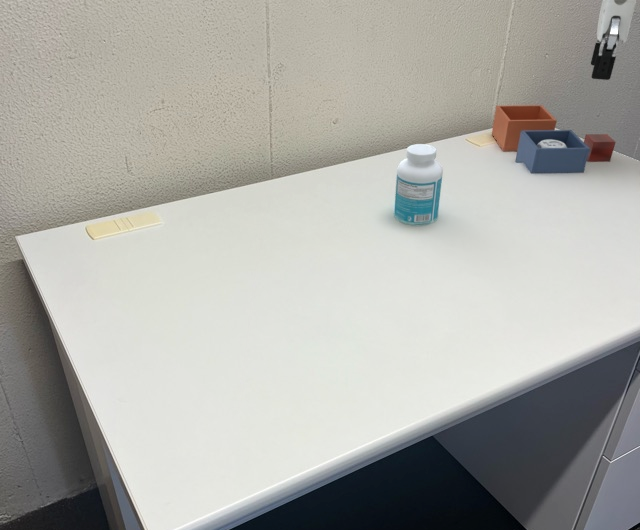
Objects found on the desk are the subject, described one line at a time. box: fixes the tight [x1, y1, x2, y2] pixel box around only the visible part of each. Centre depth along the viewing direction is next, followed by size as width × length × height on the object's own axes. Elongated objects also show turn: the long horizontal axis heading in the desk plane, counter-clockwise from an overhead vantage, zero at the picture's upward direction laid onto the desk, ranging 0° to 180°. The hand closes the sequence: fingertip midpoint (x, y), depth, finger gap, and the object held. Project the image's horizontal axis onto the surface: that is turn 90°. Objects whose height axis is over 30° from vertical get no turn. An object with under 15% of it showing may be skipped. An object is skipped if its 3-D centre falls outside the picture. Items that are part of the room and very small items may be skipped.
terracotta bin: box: [491, 104, 558, 152], centre depth 134 cm, size 10×10×7 cm
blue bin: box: [514, 129, 590, 174], centre depth 121 cm, size 10×10×7 cm
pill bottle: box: [393, 143, 444, 227], centre depth 101 cm, size 8×7×14 cm
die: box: [536, 139, 567, 148], centre depth 121 cm, size 5×5×5 cm
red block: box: [583, 133, 616, 163], centre depth 127 cm, size 4×4×4 cm
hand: (599, 71), depth 115 cm, fingers open, 9 cm apart
